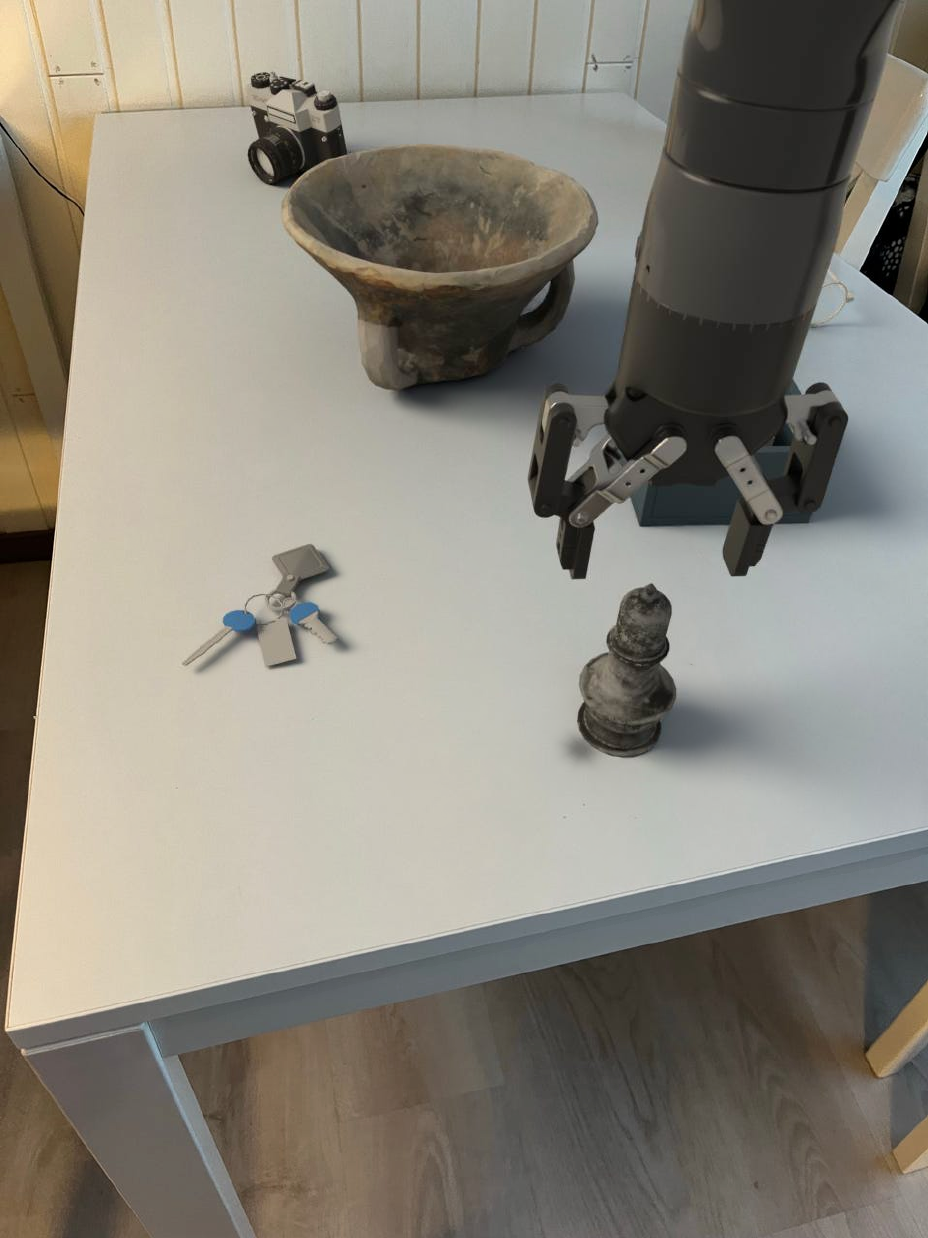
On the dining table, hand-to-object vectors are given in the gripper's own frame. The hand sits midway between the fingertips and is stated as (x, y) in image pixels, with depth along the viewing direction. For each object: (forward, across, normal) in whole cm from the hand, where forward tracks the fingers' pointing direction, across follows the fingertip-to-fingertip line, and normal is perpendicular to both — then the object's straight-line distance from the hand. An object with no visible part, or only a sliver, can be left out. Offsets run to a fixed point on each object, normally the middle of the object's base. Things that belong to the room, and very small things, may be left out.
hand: (655, 567), depth 50 cm
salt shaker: (+14, 0, 0) cm, 14 cm away
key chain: (+14, -21, +10) cm, 27 cm away
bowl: (+14, -8, +45) cm, 48 cm away
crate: (+13, +12, +26) cm, 32 cm away
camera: (+14, -25, +91) cm, 96 cm away
